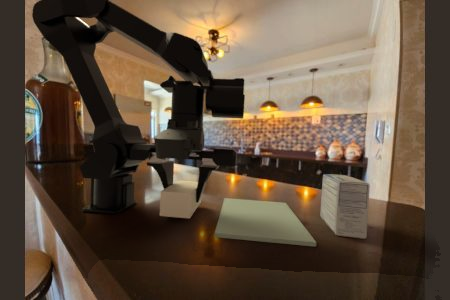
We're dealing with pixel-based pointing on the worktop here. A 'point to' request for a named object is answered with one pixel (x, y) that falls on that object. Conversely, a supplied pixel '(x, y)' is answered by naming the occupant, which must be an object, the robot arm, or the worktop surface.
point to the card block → (179, 199)
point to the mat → (261, 223)
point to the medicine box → (345, 205)
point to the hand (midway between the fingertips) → (183, 200)
